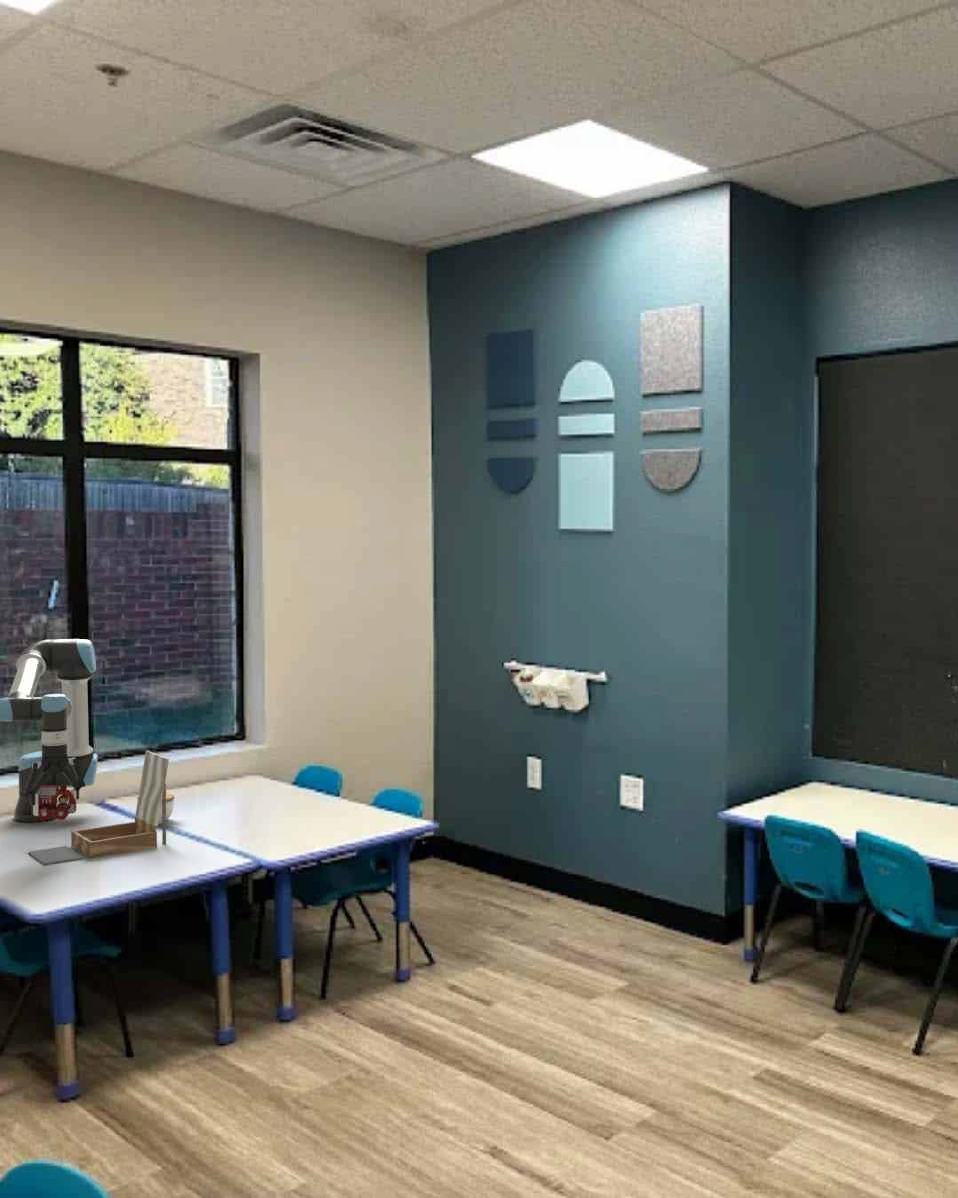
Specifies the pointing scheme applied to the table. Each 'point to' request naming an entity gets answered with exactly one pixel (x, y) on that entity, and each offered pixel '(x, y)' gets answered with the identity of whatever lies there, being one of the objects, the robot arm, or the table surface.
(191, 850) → the table surface
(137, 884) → the table surface
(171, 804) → the lidded bowl
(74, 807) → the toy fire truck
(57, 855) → the mat
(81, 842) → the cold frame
